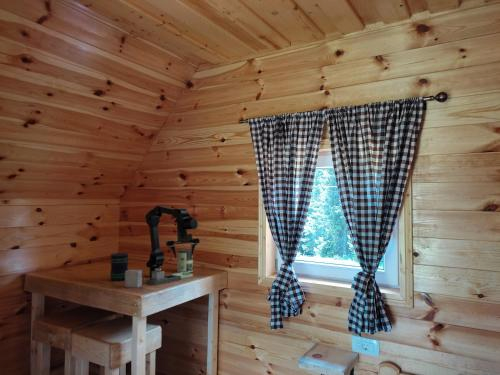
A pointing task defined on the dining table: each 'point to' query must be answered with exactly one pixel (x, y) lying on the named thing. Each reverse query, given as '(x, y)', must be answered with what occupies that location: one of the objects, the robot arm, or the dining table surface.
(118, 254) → the storage jar
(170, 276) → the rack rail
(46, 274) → the dining table surface
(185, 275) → the parts tray
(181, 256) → the coffee can
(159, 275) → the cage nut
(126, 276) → the medicine box
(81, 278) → the dining table surface
